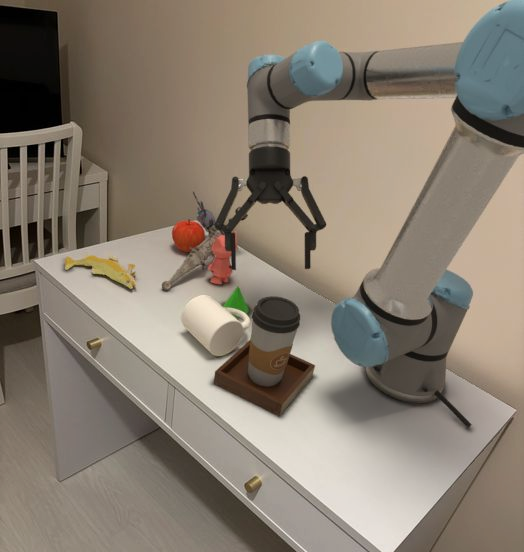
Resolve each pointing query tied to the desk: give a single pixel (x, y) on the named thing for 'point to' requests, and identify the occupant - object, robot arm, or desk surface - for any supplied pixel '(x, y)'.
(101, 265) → the toy
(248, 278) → the desk surface
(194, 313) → the mug
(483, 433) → the desk surface
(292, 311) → the coffee cup
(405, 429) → the desk surface
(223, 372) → the serving tray
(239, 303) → the green pyramid
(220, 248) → the cat figurine
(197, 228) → the apple
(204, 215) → the toy
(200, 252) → the decorative dagger
